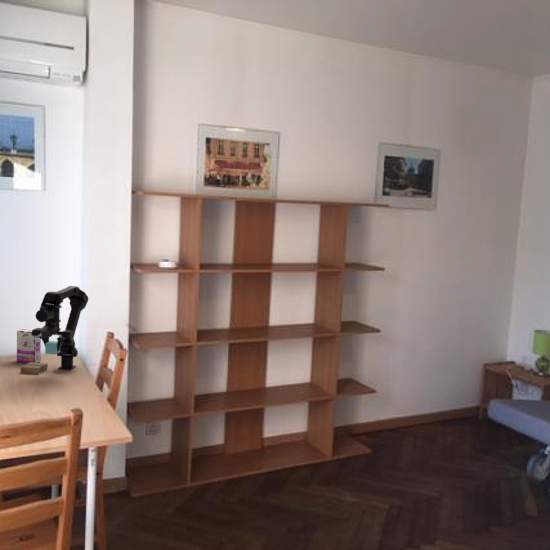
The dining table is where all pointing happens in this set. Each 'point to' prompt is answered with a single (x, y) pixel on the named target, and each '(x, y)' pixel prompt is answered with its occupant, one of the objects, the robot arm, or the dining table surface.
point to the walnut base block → (34, 368)
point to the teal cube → (51, 347)
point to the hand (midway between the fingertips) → (52, 350)
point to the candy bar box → (28, 347)
